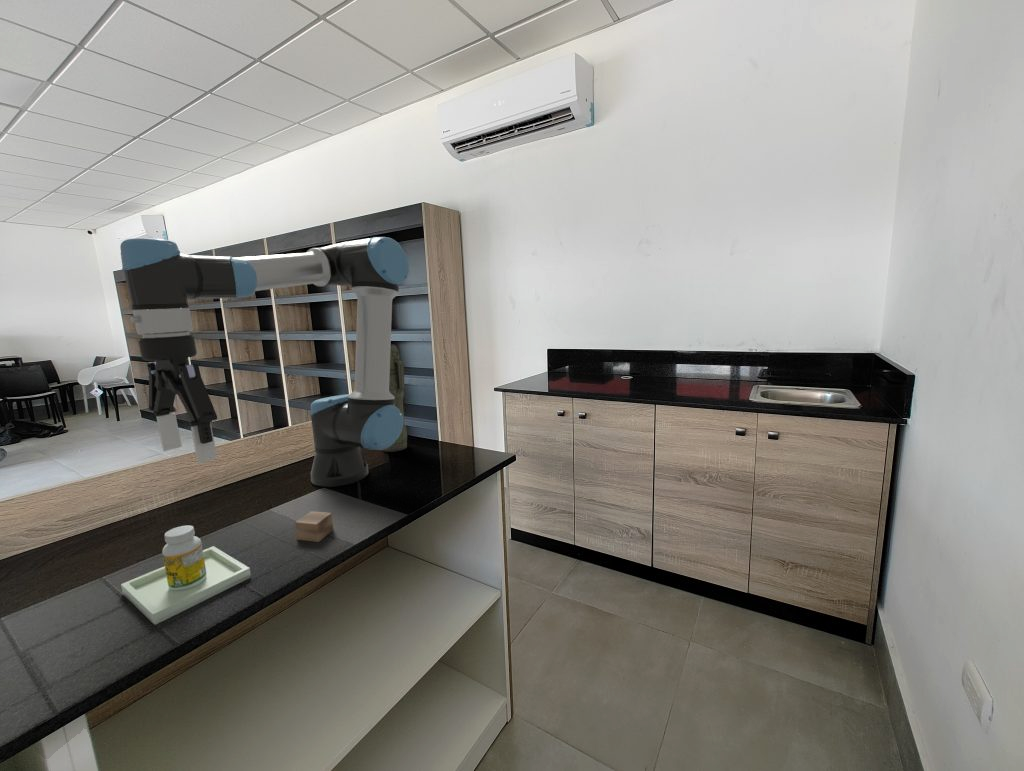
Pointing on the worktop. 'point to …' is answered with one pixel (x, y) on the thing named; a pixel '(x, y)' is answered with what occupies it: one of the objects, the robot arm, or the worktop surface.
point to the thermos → (397, 395)
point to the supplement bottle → (183, 558)
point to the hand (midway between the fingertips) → (189, 454)
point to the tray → (164, 603)
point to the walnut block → (314, 526)
